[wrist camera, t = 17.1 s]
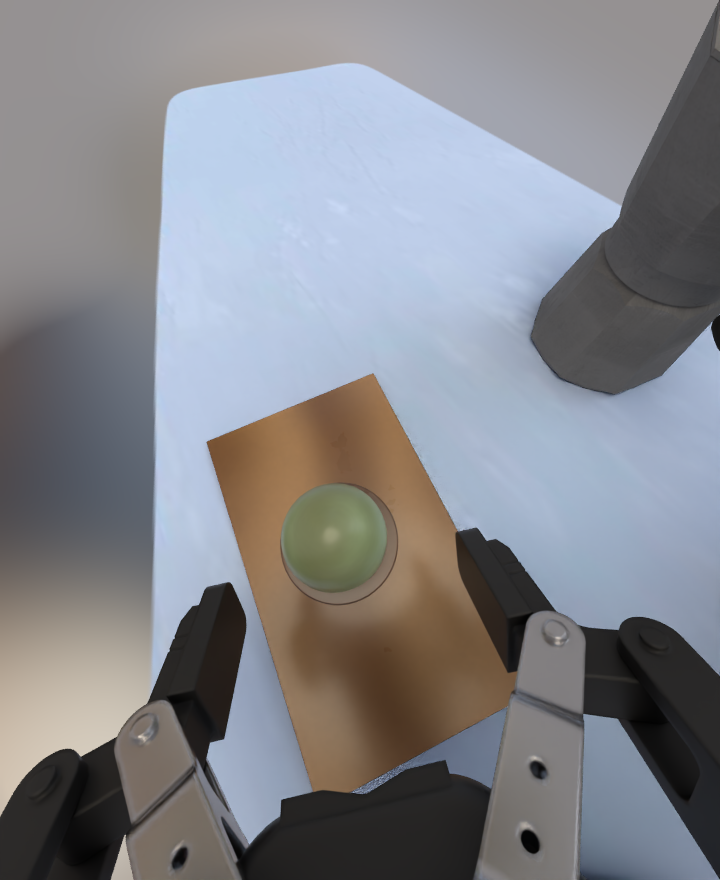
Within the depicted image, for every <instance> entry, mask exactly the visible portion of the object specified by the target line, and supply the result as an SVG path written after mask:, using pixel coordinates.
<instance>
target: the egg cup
mask: <svg viewBox="0 0 720 880" xmlns="http://www.w3.org/2000/svg"><path fill="white" fill-rule="evenodd" d="M280 551H281V558H282V562H283V565H284V568H285V571H286V573H287V575H288V576H289V578H290V580H291V581H292V582H293V584H294V585H295V586H296V587H297V588H298V589H299V590H300V591H301V592H302V593H304V594H305V595H306V596H308V597H309V598H311V599H313V600H315V601H318V602H320V603H324V604H329V605H347V604H351V603H355V602H358V601H361V600H363V599H365V598H366V597H368V596H370V595H371V594H373V593H374V592H375V591H376V590H378V589H379V588H380V587H381V586H382V584H383V583H384V582H385V581H386V579H387V578H388V576H389V575H390V573H391V571H392V569H393V567H394V564H395V561H396V557H397V552H398V532H397V527H396V524H395V521H394V518H393V516H392V514H391V512H390V510H389V509H388V507H387V506H386V504H385V503H384V502H383V501H382V500H381V499H380V498H379V497H378V496H377V495H376V494H374V493H373V492H371V491H370V490H368V489H366V488H364V487H362V486H359V485H356V484H351V483H343V482H338V483H330V484H323V485H320V486H317V487H314V488H312V489H310V490H308V491H307V492H305V493H304V494H303V495H301V496H300V497H299V498H298V499H297V500H296V501H295V502H294V504H293V505H292V506H291V508H290V509H289V511H288V513H287V514H286V517H285V519H284V522H283V525H282V531H281V539H280Z"/></svg>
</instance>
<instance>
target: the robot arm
mask: <svg viewBox="0 0 720 880" xmlns="http://www.w3.org/2000/svg"><path fill="white" fill-rule="evenodd" d="M455 539H456V551H457V562H458V569H459V573H460V576H461V579H462V581H463V584H464V586H465V588H466V590H467V592H468V594H469V596H470V598H471V600H472V602H473V604H474V606H475V608H476V610H477V612H478V614H479V616H480V618H481V620H482V622H483V624H484V626H485V628H486V630H487V632H488V634H489V636H490V638H491V640H492V642H493V644H494V646H495V648H496V650H497V652H498V654H499V656H500V658H501V660H502V662H503V665H504V667H505V669H506V671H507V673H512V672H516V671H517V676H516V681H515V686H514V690H513V691H512V692H511V694H510V698H509V702H508V707H507V713H506V718H505V723H504V728H503V733H502V738H501V743H500V749H499V754H498V759H497V764H496V769H495V774H494V779H493V785H492V789H490V788H488V787H487V786H485V785H483V784H482V783H480V782H478V781H476V780H473V779H471V778H468V777H465V776H461V775H456V774H449V771H448V767H447V763H446V760H443V761H439V762H435V763H431V764H427V765H423V766H418V767H414V768H410V769H406V770H404V771H403V772H401V773H399V774H398V775H396V776H395V777H393V778H391V779H390V780H388V781H387V782H385V783H383V784H382V785H380V786H379V787H377V788H375V789H374V790H372V791H371V792H369V793H366V794H355V793H346V792H337V791H328V790H320V791H316V792H311V793H307V794H303V795H299V796H295V797H291V798H287V799H283V800H281V814H280V817H279V818H277V819H275V820H274V821H273V822H272V823H270V824H269V825H268V826H267V827H266V828H265V829H264V830H263V831H262V832H261V833H260V834H259V835H258V836H257V837H256V838H255V839H254V840H253V841H252V843H251V844H250V845H249V843H248V841H247V839H246V837H245V836H244V834H243V832H242V830H241V829H240V827H239V825H238V823H237V821H236V819H235V817H234V815H233V813H232V811H231V808H230V806H229V804H228V802H227V800H226V798H225V795H224V793H223V791H222V789H221V787H220V785H219V782H218V780H217V778H216V776H215V774H214V772H213V769H212V767H211V765H210V763H209V761H208V759H207V758H206V757H207V753H208V749H209V744H210V742H214V741H218V740H223V739H224V738H225V733H226V728H227V723H228V718H229V713H230V708H231V703H232V698H233V693H234V688H235V683H236V678H237V673H238V668H239V663H240V659H241V654H242V649H243V644H244V639H245V634H246V616H245V613H244V610H243V608H242V606H241V603H240V601H239V599H238V597H237V595H236V592H235V590H234V588H233V586H232V584H231V583H230V582H227V583H223V584H218V585H214V586H209V587H207V588H206V589H205V590H204V593H203V596H202V598H201V601H200V604H199V605H197V606H192V607H191V609H190V610H189V611H188V612H187V614H186V615H185V616H184V618H183V619H182V620H181V622H180V624H179V627H178V629H177V632H176V634H175V639H173V642H172V644H171V646H170V652H168V654H167V656H166V659H165V661H164V664H163V666H162V669H161V671H160V674H159V676H158V679H157V681H156V684H155V686H154V689H153V691H152V694H151V696H150V699H149V701H148V703H147V704H146V705H144V706H143V707H141V708H140V709H139V710H137V711H136V712H135V713H134V714H133V715H132V716H131V717H130V718H129V719H128V720H127V721H126V723H125V724H124V726H123V727H122V728H121V730H120V732H119V734H118V736H117V737H116V738H114V739H112V740H111V741H109V742H107V743H105V744H103V745H101V746H100V747H98V748H96V749H95V750H92V751H91V752H89V753H87V754H85V755H83V756H82V757H80V756H79V754H78V753H77V752H76V751H74V750H72V749H63V750H59V751H57V752H55V753H53V754H51V755H49V756H48V757H46V758H45V759H43V760H42V761H41V762H39V763H38V764H37V765H36V766H35V767H34V768H33V769H32V770H31V771H30V772H29V773H28V774H27V775H26V776H25V777H24V779H23V780H22V781H21V782H20V784H19V785H18V787H17V788H16V790H15V791H14V793H13V795H12V796H11V798H10V800H9V802H8V804H7V806H6V807H5V809H4V811H3V813H2V815H1V817H0V880H111V876H112V873H113V870H114V867H115V863H116V860H117V857H118V854H119V851H120V847H121V844H122V841H123V837H124V835H126V845H127V851H128V855H129V860H130V865H131V869H132V873H133V878H134V880H587V879H586V878H585V877H584V876H583V875H582V874H581V873H580V844H581V813H582V783H583V752H584V720H583V714H588V715H595V716H603V717H610V718H617V719H618V720H619V721H620V723H621V725H622V726H623V728H624V729H625V731H626V732H627V734H628V736H629V737H630V739H631V740H632V742H633V743H634V745H635V747H636V748H637V750H638V751H639V753H640V754H641V756H642V758H643V759H644V761H645V762H646V764H647V765H648V767H649V769H650V770H651V772H652V773H653V775H654V776H655V778H656V780H657V781H658V783H659V784H660V786H661V788H662V789H663V791H664V792H665V794H666V795H667V797H668V799H669V800H670V802H671V803H672V805H673V806H674V808H675V810H676V811H677V813H678V814H679V816H680V817H681V819H682V821H683V822H684V824H685V825H686V827H687V828H688V830H689V832H690V833H691V835H692V836H693V838H694V839H695V841H696V843H697V844H698V846H699V847H700V849H701V850H702V852H703V854H704V855H705V857H706V858H707V860H708V861H709V863H710V865H711V866H712V868H713V869H714V871H715V872H716V874H717V876H718V877H719V879H720V676H719V675H718V674H717V673H716V672H715V671H714V670H713V669H712V668H711V667H710V666H709V664H708V663H707V662H706V661H705V660H704V659H703V658H702V657H701V656H700V655H699V654H698V653H697V652H696V651H695V650H694V649H693V648H692V647H691V646H690V645H689V644H688V643H687V642H686V641H685V640H684V638H683V637H682V636H681V635H679V634H678V633H677V632H676V631H675V630H673V629H672V628H670V627H669V626H667V625H665V624H663V623H661V622H659V621H656V620H653V619H650V618H645V617H632V618H628V619H626V620H625V621H623V622H622V624H621V625H620V628H619V630H610V629H597V628H588V627H583V626H580V625H577V624H576V623H575V622H574V621H573V620H572V619H570V618H569V617H567V616H565V615H563V614H561V613H558V612H557V611H556V610H555V609H554V608H553V607H552V605H551V604H550V603H549V601H548V600H547V599H546V597H545V596H544V594H543V593H542V592H541V590H540V589H539V588H538V586H537V585H536V584H535V582H534V581H533V580H532V578H531V577H530V575H529V574H528V573H527V572H526V571H525V569H524V567H523V566H522V565H521V563H520V562H518V559H517V558H516V556H515V555H514V554H513V552H512V551H511V550H510V548H509V547H507V546H506V545H504V544H503V543H501V542H500V541H498V540H497V539H494V540H489V541H486V540H485V538H484V537H483V535H482V534H481V532H480V531H479V529H478V528H472V529H468V530H463V531H459V532H456V533H455Z"/></svg>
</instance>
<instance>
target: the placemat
mask: <svg viewBox="0 0 720 880" xmlns="http://www.w3.org/2000/svg"><path fill="white" fill-rule="evenodd" d="M207 445H208V448H209V452H210V455H211V458H212V461H213V465H214V468H215V471H216V475H217V478H218V481H219V484H220V488H221V491H222V494H223V497H224V501H225V504H226V507H227V511H228V514H229V517H230V520H231V524H232V527H233V530H234V534H235V537H236V540H237V543H238V547H239V550H240V553H241V557H242V560H243V563H244V566H245V570H246V573H247V576H248V580H249V583H250V586H251V589H252V593H253V596H254V599H255V603H256V606H257V609H258V612H259V616H260V619H261V622H262V625H263V629H264V632H265V635H266V639H267V642H268V645H269V648H270V652H271V655H272V658H273V662H274V665H275V668H276V671H277V675H278V678H279V681H280V685H281V688H282V691H283V694H284V698H285V701H286V704H287V708H288V711H289V714H290V717H291V721H292V724H293V727H294V731H295V734H296V737H297V740H298V744H299V747H300V750H301V753H302V757H303V760H304V763H305V767H306V770H307V773H308V776H309V780H310V783H311V786H312V790H313V792H316V791H320V790H328V791H337V792H346V793H350V792H352V791H354V790H355V789H357V788H359V787H361V786H363V785H364V784H366V783H368V782H370V781H372V780H374V779H375V778H377V777H379V776H381V775H383V774H385V773H386V772H388V771H390V770H392V769H394V768H396V767H397V766H399V765H401V764H403V763H405V762H407V761H408V760H410V759H412V758H414V757H416V756H417V755H419V754H421V753H423V752H425V751H427V750H428V749H430V748H432V747H434V746H436V745H438V744H439V743H441V742H443V741H445V740H447V739H449V738H450V737H452V736H454V735H456V734H458V733H460V732H461V731H463V730H465V729H467V728H469V727H470V726H472V725H474V724H476V723H478V722H480V721H481V720H483V719H485V718H487V717H489V716H491V715H492V714H494V713H496V712H498V711H500V710H502V709H503V708H505V707H507V706H508V702H509V698H510V694H511V692H512V691H513V690H514V686H515V681H516V676H517V671H516V672H512V673H507V671H506V669H505V667H504V665H503V662H502V660H501V658H500V656H499V654H498V652H497V650H496V648H495V646H494V644H493V642H492V640H491V638H490V636H489V634H488V632H487V630H486V628H485V626H484V624H483V622H482V620H481V618H480V616H479V614H478V612H477V610H476V608H475V606H474V604H473V602H472V600H471V598H470V596H469V594H468V592H467V590H466V588H465V586H464V584H463V581H462V579H461V576H460V573H459V569H458V562H457V551H456V539H455V533H456V532H458V531H457V529H456V527H455V525H454V523H453V521H452V520H451V518H450V516H449V514H448V512H447V510H446V508H445V506H444V505H443V503H442V501H441V499H440V497H439V495H438V493H437V491H436V490H435V488H434V486H433V484H432V482H431V480H430V478H429V477H428V475H427V473H426V471H425V469H424V467H423V465H422V463H421V462H420V460H419V458H418V456H417V454H416V452H415V450H414V448H413V447H412V445H411V443H410V441H409V439H408V437H407V435H406V433H405V432H404V430H403V428H402V426H401V424H400V422H399V420H398V419H397V417H396V415H395V413H394V411H393V409H392V407H391V405H390V404H389V402H388V400H387V398H386V396H385V394H384V392H383V390H382V389H381V387H380V385H379V383H378V381H377V379H376V377H375V376H374V374H370V375H368V376H366V377H363V378H361V379H358V380H356V381H353V382H351V383H348V384H346V385H344V386H341V387H339V388H336V389H334V390H331V391H329V392H327V393H324V394H322V395H319V396H317V397H314V398H312V399H310V400H307V401H305V402H302V403H300V404H297V405H295V406H292V407H290V408H288V409H285V410H283V411H280V412H278V413H275V414H273V415H271V416H268V417H266V418H263V419H261V420H258V421H256V422H253V423H251V424H249V425H246V426H244V427H241V428H239V429H236V430H234V431H232V432H229V433H227V434H224V435H222V436H219V437H217V438H215V439H212V440H210V441H207ZM338 482H343V483H351V484H356V485H359V486H362V487H364V488H366V489H368V490H370V491H371V492H373V493H374V494H376V495H377V496H378V497H379V498H380V499H381V500H382V501H383V502H384V503H385V504H386V506H387V507H388V509H389V510H390V512H391V514H392V516H393V518H394V521H395V524H396V527H397V532H398V552H397V557H396V561H395V564H394V567H393V569H392V571H391V573H390V575H389V576H388V578H387V579H386V581H385V582H384V583H383V584H382V586H381V587H380V588H379V589H378V590H376V591H375V592H374V593H373V594H371V595H370V596H368V597H366V598H365V599H363V600H361V601H358V602H355V603H351V604H347V605H329V604H324V603H320V602H318V601H315V600H313V599H311V598H309V597H308V596H306V595H305V594H304V593H302V592H301V591H300V590H299V589H298V588H297V587H296V586H295V585H294V584H293V582H292V581H291V580H290V578H289V576H288V575H287V573H286V571H285V568H284V565H283V562H282V558H281V551H280V539H281V531H282V525H283V522H284V519H285V517H286V514H287V513H288V511H289V509H290V508H291V506H292V505H293V504H294V502H295V501H296V500H297V499H298V498H299V497H300V496H301V495H303V494H304V493H305V492H307V491H308V490H310V489H312V488H314V487H317V486H320V485H323V484H330V483H338Z"/></svg>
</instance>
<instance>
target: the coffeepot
mask: <svg viewBox="0 0 720 880" xmlns="http://www.w3.org/2000/svg"><path fill="white" fill-rule="evenodd" d="M719 314H720V0H719V2H718V4H717V6H716V8H715V10H714V12H713V14H712V16H711V18H710V20H709V23H708V25H707V27H706V29H705V31H704V33H703V35H702V37H701V39H700V41H699V43H698V45H697V47H696V49H695V51H694V54H693V56H692V58H691V60H690V62H689V64H688V66H687V68H686V70H685V72H684V74H683V76H682V78H681V80H680V82H679V84H678V86H677V88H676V90H675V92H674V95H673V97H672V99H671V101H670V103H669V105H668V107H667V109H666V111H665V113H664V115H663V117H662V119H661V121H660V123H659V125H658V127H657V130H656V132H655V134H654V136H653V138H652V140H651V142H650V144H649V146H648V148H647V150H646V152H645V154H644V156H643V158H642V160H641V163H640V165H639V167H638V169H637V171H636V173H635V175H634V177H633V179H632V181H631V183H630V185H629V187H628V189H627V192H626V195H625V198H624V201H623V204H622V208H621V212H620V217H619V218H618V220H617V221H616V222H615V224H614V225H613V227H612V228H610V229H608V230H607V231H605V232H603V233H602V234H601V235H600V236H599V237H598V238H597V239H596V240H595V241H594V243H593V244H592V245H591V246H590V247H589V248H588V249H587V250H586V251H585V252H584V254H583V255H582V256H581V257H580V258H579V259H578V260H577V261H576V262H575V264H574V265H573V266H572V267H571V268H570V269H569V270H568V271H567V272H566V273H565V275H564V276H563V277H562V278H561V279H560V280H559V281H558V282H557V283H556V285H555V286H554V287H553V288H552V289H551V290H550V291H549V292H548V293H547V294H546V296H545V297H544V298H543V299H542V302H541V305H540V308H539V311H538V314H537V316H536V319H535V323H534V328H533V331H532V334H531V338H532V340H533V342H534V344H535V346H536V348H537V350H538V351H539V353H540V355H541V357H542V358H543V360H544V361H545V362H546V363H547V364H548V366H549V367H550V368H551V369H552V370H554V371H555V372H556V373H557V374H558V376H559V377H560V378H563V379H565V380H567V381H569V382H571V383H573V384H576V385H578V386H581V387H583V388H587V389H591V390H595V391H605V392H609V393H612V394H618V393H620V392H623V391H625V390H628V389H631V388H634V387H636V386H638V385H640V384H642V383H644V382H647V381H649V380H652V379H654V378H657V377H659V376H661V375H662V374H663V373H664V372H665V371H666V370H667V369H668V368H669V367H670V366H671V365H672V364H673V363H674V362H675V361H676V360H677V358H678V357H679V356H680V355H681V354H682V353H683V352H684V351H685V350H686V349H687V348H688V347H689V346H690V345H691V344H692V343H693V341H694V340H695V339H696V338H697V337H698V336H699V335H700V334H701V333H702V332H703V331H704V330H705V329H706V328H707V327H708V326H709V325H710V323H711V322H712V321H713V320H714V321H713V323H712V326H711V330H712V334H713V337H714V341H715V343H716V346H717V348H718V349H719V351H720V315H719ZM718 315H719V316H718Z"/></svg>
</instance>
